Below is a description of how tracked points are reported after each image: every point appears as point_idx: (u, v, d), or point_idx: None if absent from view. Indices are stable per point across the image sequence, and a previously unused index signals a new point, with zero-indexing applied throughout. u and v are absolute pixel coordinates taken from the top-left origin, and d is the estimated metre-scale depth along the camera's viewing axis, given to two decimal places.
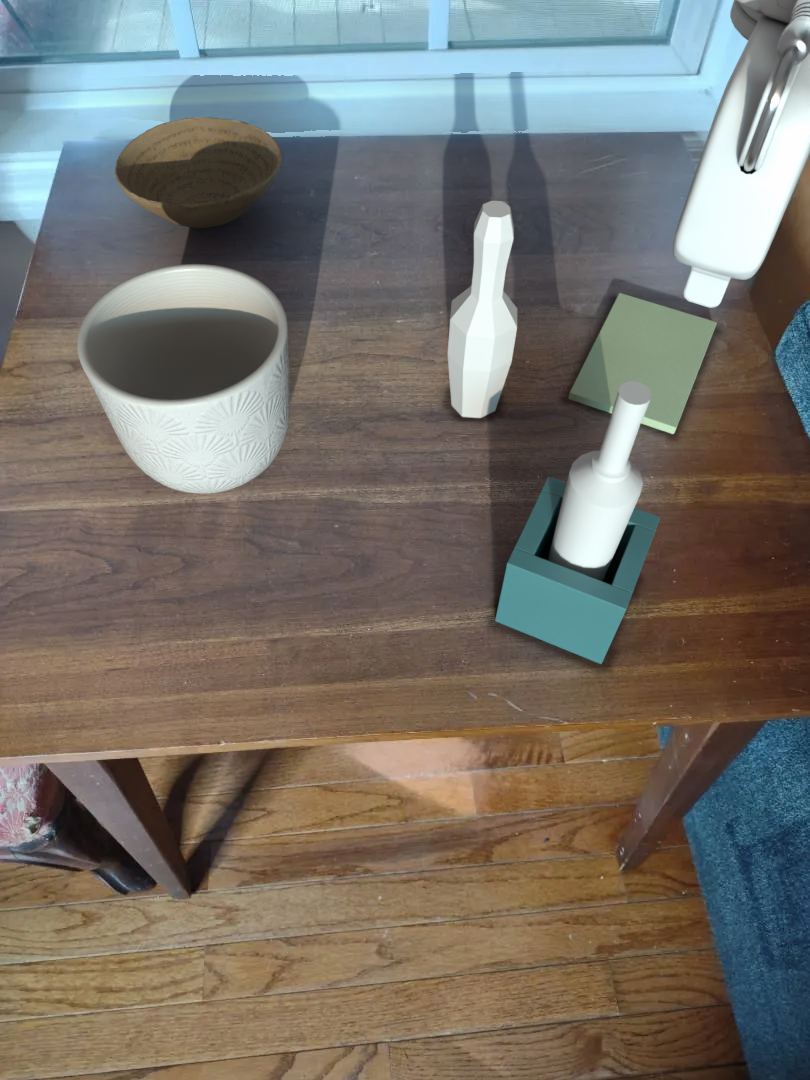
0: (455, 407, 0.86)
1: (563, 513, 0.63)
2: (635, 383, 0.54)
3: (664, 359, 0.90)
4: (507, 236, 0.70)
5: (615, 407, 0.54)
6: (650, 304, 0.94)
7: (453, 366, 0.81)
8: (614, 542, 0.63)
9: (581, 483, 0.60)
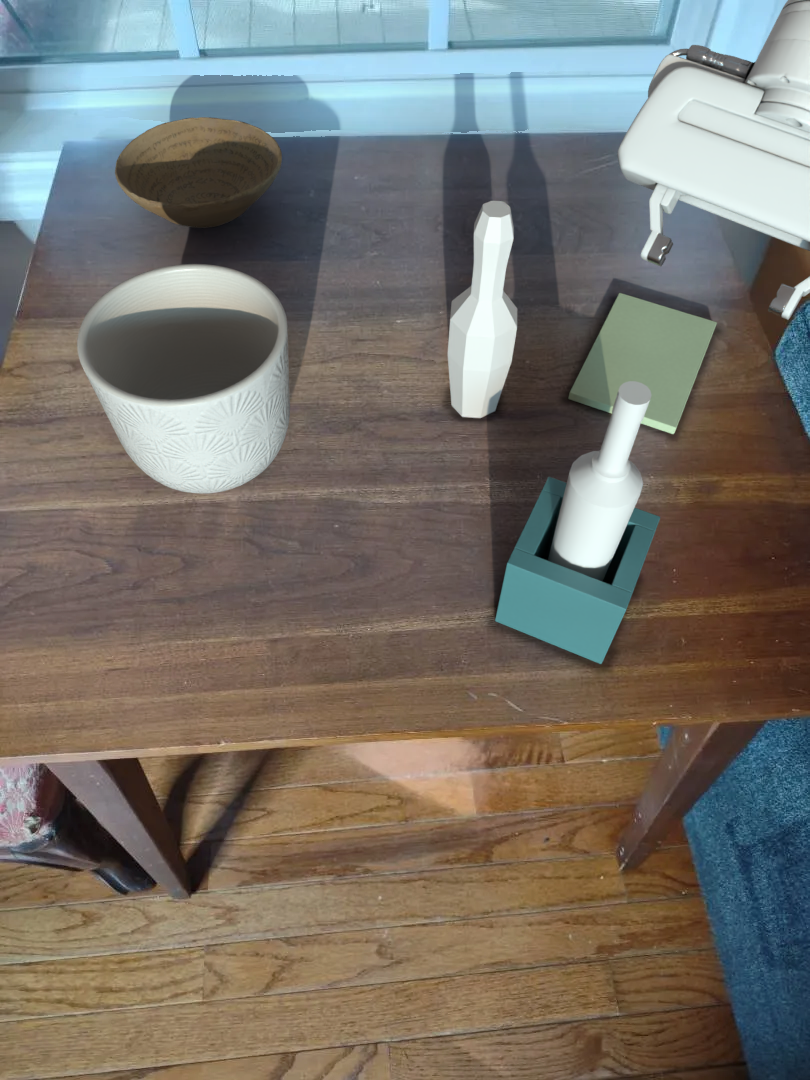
0: (455, 407, 0.86)
1: (563, 513, 0.63)
2: (635, 383, 0.54)
3: (664, 359, 0.90)
4: (507, 236, 0.70)
5: (615, 407, 0.54)
6: (650, 304, 0.94)
7: (453, 366, 0.81)
8: (614, 542, 0.63)
9: (581, 483, 0.60)
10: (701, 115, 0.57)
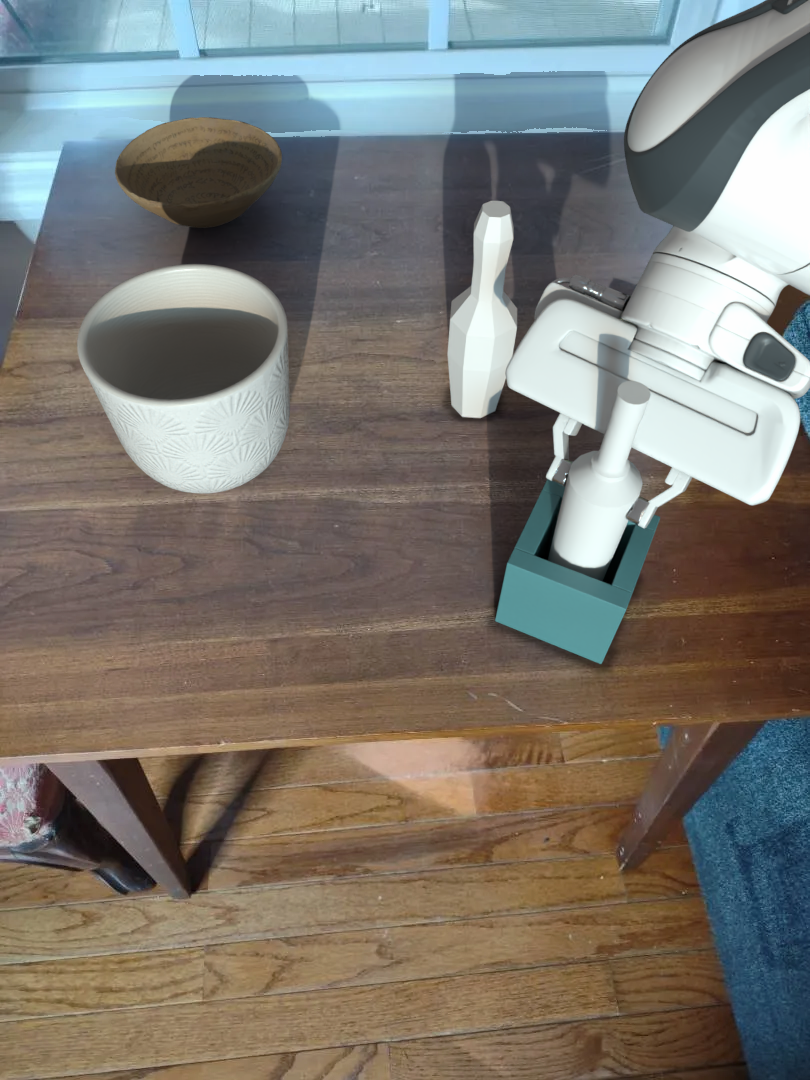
0: (455, 407, 0.86)
1: (563, 513, 0.63)
2: (634, 383, 0.54)
3: None
4: (507, 236, 0.70)
5: (614, 407, 0.54)
6: None
7: (453, 366, 0.81)
8: (614, 542, 0.63)
9: (580, 483, 0.60)
10: (580, 345, 0.60)
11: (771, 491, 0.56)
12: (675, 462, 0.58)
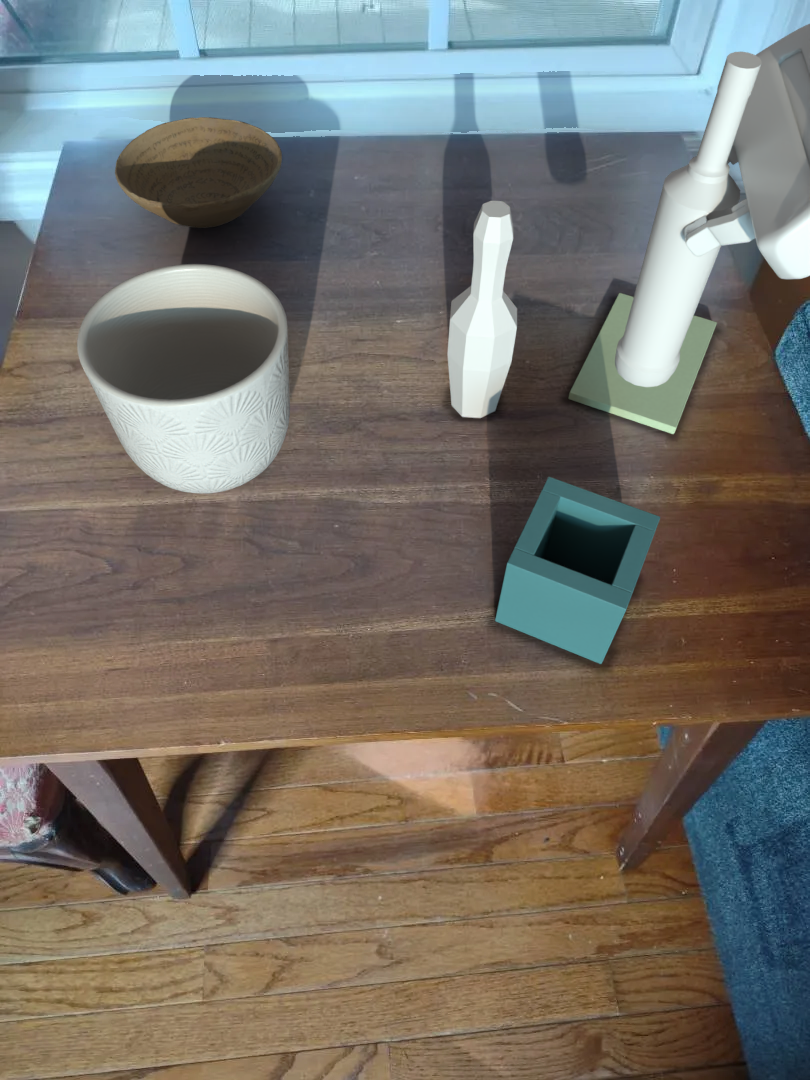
0: (455, 407, 0.86)
1: None
2: (755, 57, 0.52)
3: None
4: (507, 236, 0.70)
5: None
6: None
7: (453, 366, 0.81)
8: (672, 269, 0.61)
9: (676, 171, 0.59)
10: (794, 66, 0.57)
11: (780, 239, 0.50)
12: (749, 186, 0.54)
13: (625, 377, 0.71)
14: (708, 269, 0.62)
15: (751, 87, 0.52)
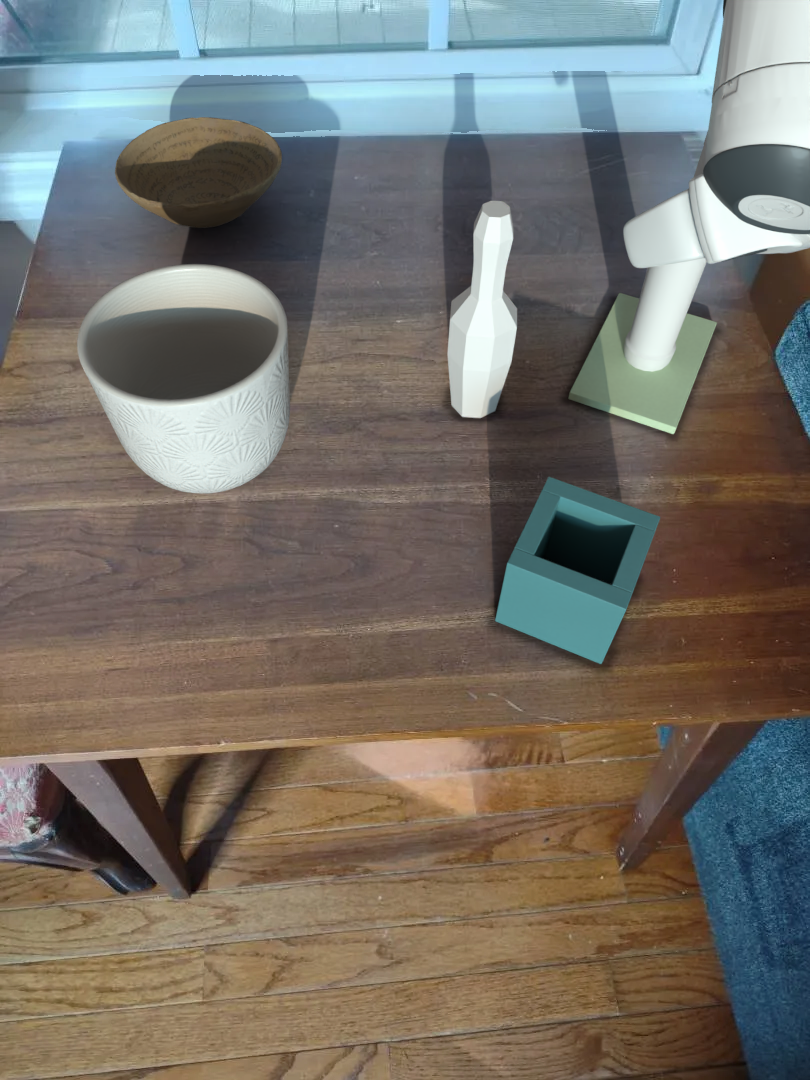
0: (455, 407, 0.86)
1: None
2: None
3: None
4: (507, 236, 0.70)
5: None
6: None
7: (453, 366, 0.81)
8: None
9: None
10: None
11: (626, 224, 0.69)
12: None
13: None
14: (674, 282, 0.79)
15: None
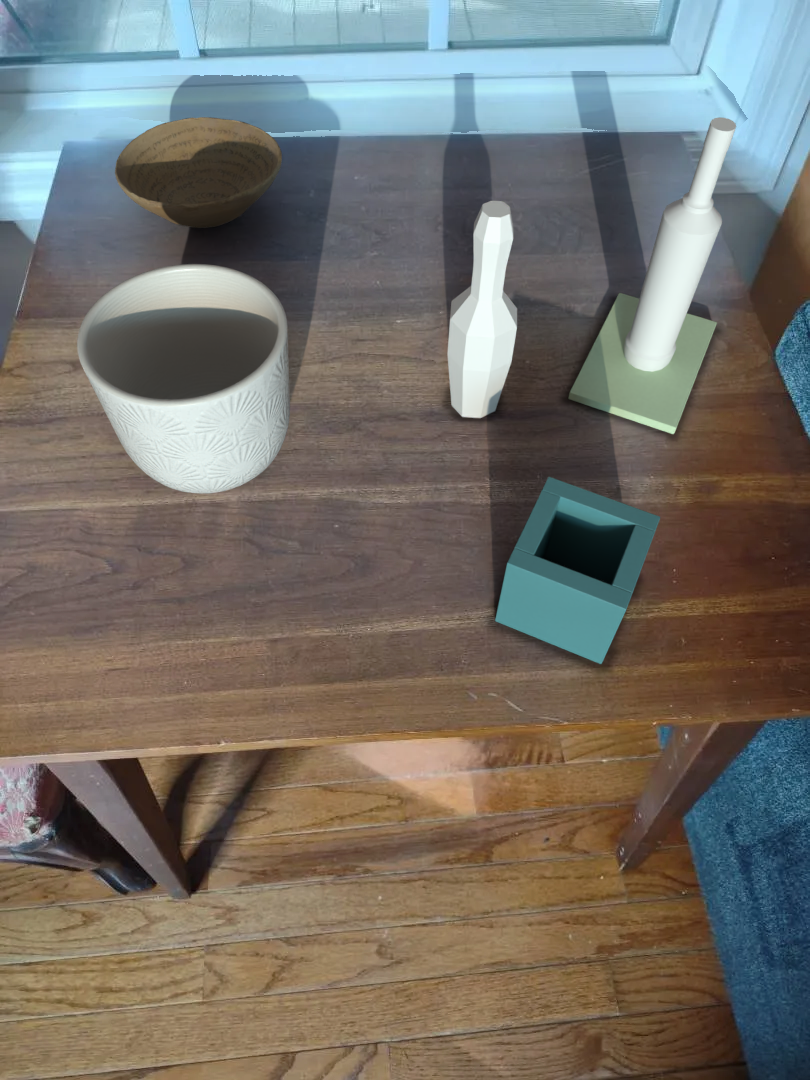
0: (455, 407, 0.86)
1: None
2: (732, 127, 0.69)
3: None
4: (507, 236, 0.70)
5: None
6: None
7: (453, 366, 0.81)
8: (651, 264, 0.80)
9: None
10: None
11: None
12: None
13: None
14: (673, 282, 0.79)
15: (718, 145, 0.70)
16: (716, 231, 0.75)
